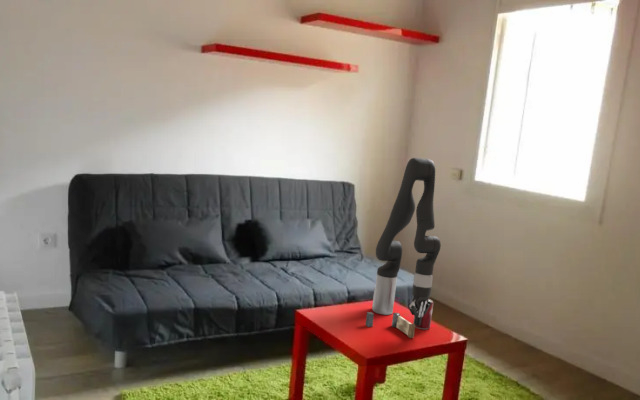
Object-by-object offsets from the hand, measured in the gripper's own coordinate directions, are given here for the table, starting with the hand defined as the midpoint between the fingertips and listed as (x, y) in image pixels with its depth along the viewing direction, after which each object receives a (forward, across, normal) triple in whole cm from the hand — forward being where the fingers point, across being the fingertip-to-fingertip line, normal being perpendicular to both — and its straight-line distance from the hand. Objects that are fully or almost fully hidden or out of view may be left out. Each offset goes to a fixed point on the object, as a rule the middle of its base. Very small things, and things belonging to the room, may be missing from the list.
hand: (417, 324), depth 232 cm
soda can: (+5, -11, -6) cm, 13 cm away
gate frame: (+4, +5, -14) cm, 16 cm away
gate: (+4, +2, -4) cm, 7 cm away
